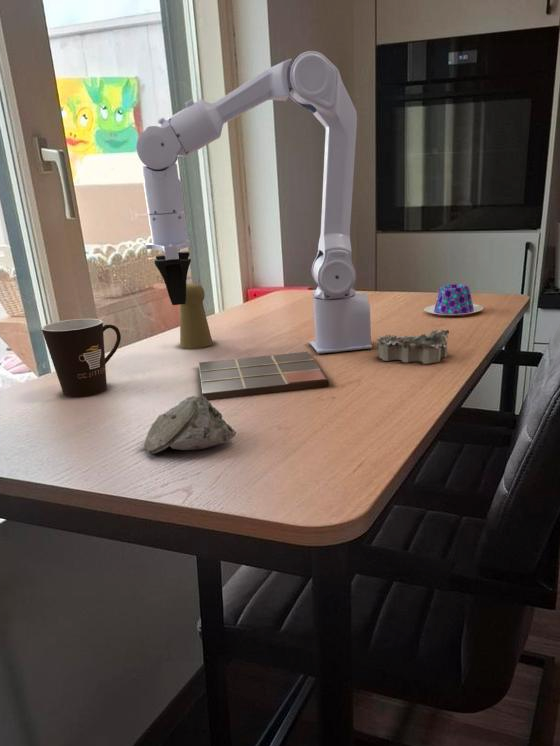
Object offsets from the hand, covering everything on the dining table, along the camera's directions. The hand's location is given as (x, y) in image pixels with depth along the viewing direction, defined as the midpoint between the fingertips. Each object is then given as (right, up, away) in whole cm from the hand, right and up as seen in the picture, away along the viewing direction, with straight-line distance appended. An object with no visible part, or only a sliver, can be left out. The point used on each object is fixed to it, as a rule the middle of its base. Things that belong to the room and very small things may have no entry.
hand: (178, 300), depth 116 cm
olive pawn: (+1, -5, +15) cm, 15 cm away
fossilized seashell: (+8, -26, -33) cm, 43 cm away
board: (+14, -14, -9) cm, 22 cm away
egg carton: (+38, -10, -3) cm, 40 cm away
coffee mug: (-11, -16, -9) cm, 22 cm away
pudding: (+51, +5, +28) cm, 59 cm away
